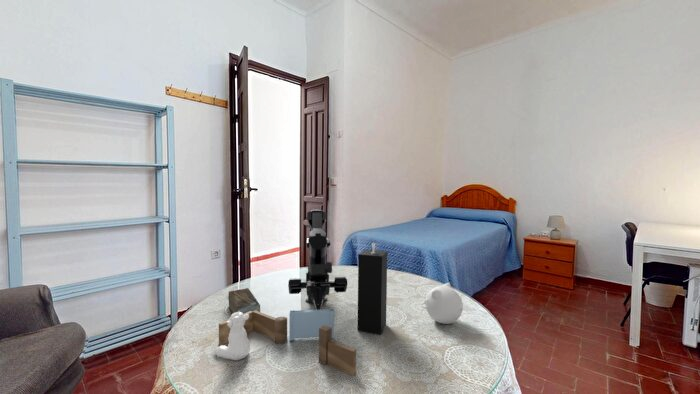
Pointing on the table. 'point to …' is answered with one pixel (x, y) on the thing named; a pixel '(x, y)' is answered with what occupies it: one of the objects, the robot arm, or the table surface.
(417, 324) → the table surface
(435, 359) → the table surface
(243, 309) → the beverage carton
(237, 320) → the sitting furry creature
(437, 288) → the cat head
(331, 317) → the gate
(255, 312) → the pen fence
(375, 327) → the black pillar candle
